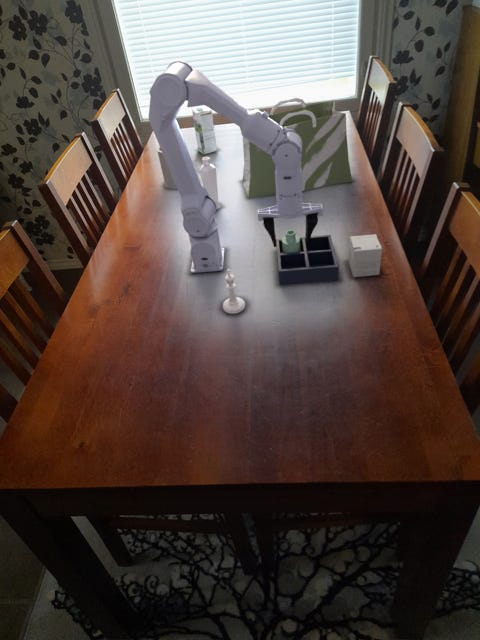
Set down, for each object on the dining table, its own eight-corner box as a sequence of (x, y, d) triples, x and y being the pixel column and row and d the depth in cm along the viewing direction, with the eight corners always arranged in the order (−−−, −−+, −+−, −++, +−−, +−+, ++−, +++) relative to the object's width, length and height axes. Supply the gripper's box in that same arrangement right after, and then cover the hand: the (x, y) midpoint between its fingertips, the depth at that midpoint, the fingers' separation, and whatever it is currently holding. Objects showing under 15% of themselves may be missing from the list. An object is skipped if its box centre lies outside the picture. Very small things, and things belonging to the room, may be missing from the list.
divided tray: (337, 280, 103) (338, 266, 100) (279, 285, 104) (278, 271, 102) (330, 248, 113) (330, 234, 110) (276, 252, 114) (275, 239, 111)
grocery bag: (248, 200, 136) (240, 120, 120) (242, 180, 146) (233, 104, 131) (352, 182, 137) (358, 101, 122) (338, 164, 147) (341, 87, 132)
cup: (184, 174, 155) (177, 138, 147) (197, 182, 148) (190, 146, 140) (160, 182, 151) (152, 147, 143) (172, 191, 145) (164, 155, 137)
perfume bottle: (219, 211, 133) (212, 161, 123) (205, 211, 134) (196, 162, 124) (223, 203, 136) (216, 154, 126) (209, 203, 137) (201, 155, 127)
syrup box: (197, 150, 169) (190, 109, 159) (212, 145, 171) (206, 105, 161) (203, 155, 165) (196, 113, 155) (218, 150, 166) (212, 109, 157)
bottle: (300, 261, 109) (300, 236, 104) (283, 262, 109) (282, 238, 105) (299, 251, 112) (298, 227, 107) (282, 253, 112) (281, 228, 108)
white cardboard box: (373, 260, 107) (376, 233, 102) (379, 275, 103) (382, 248, 98) (347, 262, 108) (349, 235, 103) (352, 277, 103) (354, 250, 98)
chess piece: (244, 298, 102) (239, 261, 95) (245, 312, 98) (240, 275, 92) (222, 300, 102) (216, 264, 96) (223, 314, 99) (216, 278, 92)
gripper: (320, 179, 101) (319, 231, 110) (255, 185, 102) (260, 237, 112) (324, 194, 96) (323, 248, 105) (256, 200, 97) (261, 253, 106)
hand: (291, 243), depth 108 cm, fingers open, 7 cm apart
